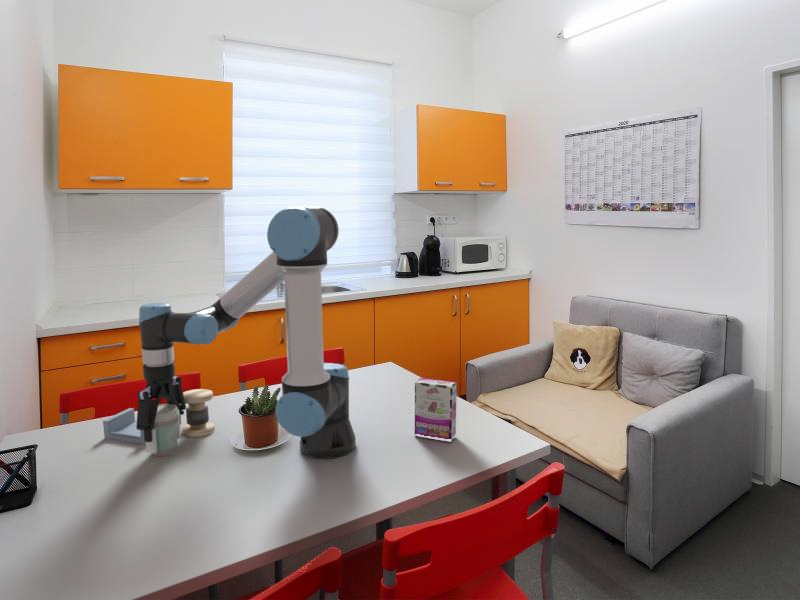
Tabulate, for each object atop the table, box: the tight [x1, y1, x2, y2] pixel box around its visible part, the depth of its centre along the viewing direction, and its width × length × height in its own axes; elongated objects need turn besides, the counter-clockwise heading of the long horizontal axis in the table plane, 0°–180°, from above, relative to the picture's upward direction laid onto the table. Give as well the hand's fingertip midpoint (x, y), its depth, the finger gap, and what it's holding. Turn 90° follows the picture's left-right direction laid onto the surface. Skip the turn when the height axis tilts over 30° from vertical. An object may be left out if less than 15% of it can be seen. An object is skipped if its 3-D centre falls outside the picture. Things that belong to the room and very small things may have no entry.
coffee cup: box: [148, 403, 180, 457], centre depth 144 cm, size 9×9×12 cm
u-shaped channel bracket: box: [102, 407, 146, 446], centre depth 155 cm, size 10×14×5 cm
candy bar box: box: [414, 377, 458, 439], centre depth 154 cm, size 11×5×16 cm, turn 68°
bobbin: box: [181, 388, 216, 439], centre depth 157 cm, size 9×9×11 cm
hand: (164, 444), depth 145 cm, fingers closed on coffee cup, 8 cm apart
